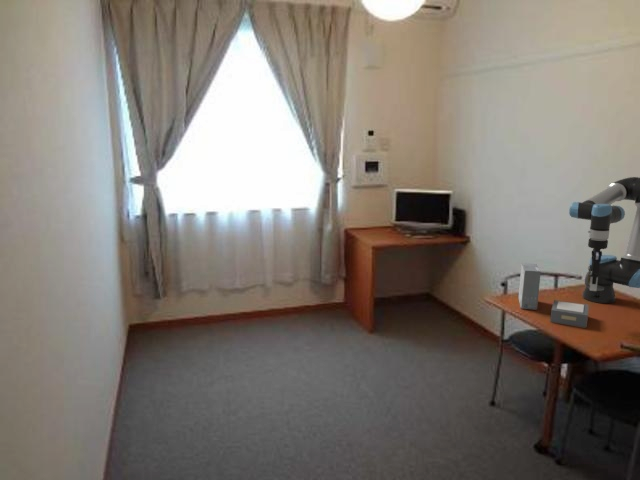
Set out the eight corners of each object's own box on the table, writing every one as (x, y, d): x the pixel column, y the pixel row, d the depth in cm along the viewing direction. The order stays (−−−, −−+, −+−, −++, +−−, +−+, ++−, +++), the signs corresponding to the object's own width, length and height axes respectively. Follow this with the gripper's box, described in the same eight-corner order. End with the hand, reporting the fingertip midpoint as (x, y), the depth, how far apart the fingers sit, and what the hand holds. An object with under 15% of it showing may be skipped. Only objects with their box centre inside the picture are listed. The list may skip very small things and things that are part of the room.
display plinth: (587, 316, 240) (588, 304, 238) (586, 328, 227) (587, 314, 225) (552, 311, 247) (554, 299, 246) (550, 322, 234) (551, 309, 233)
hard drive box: (537, 310, 249) (541, 271, 244) (520, 309, 251) (524, 270, 246) (533, 300, 263) (536, 263, 259) (517, 298, 265) (520, 262, 261)
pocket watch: (606, 291, 224) (608, 270, 222) (586, 291, 226) (588, 269, 223) (599, 286, 232) (602, 265, 230) (580, 285, 233) (582, 264, 231)
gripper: (588, 233, 234) (583, 280, 239) (589, 242, 216) (583, 293, 222) (607, 235, 231) (601, 282, 236) (609, 244, 213) (603, 295, 218)
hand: (592, 287), depth 229 cm, fingers closed on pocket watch, 7 cm apart
